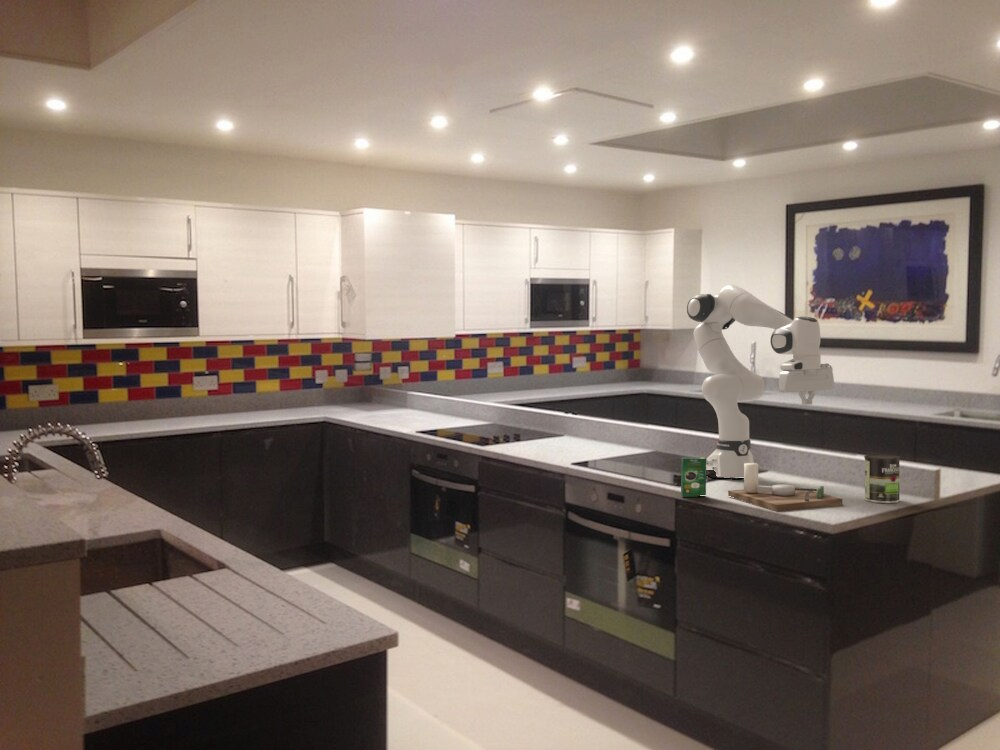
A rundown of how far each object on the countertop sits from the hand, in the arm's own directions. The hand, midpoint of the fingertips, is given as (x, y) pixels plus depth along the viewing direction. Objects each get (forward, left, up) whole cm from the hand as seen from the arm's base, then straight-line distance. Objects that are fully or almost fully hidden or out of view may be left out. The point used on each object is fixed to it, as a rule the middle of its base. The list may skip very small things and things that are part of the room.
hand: (807, 404), depth 292 cm
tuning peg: (+13, -21, -27) cm, 36 cm away
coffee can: (+26, +8, -29) cm, 40 cm away
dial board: (+14, -20, -29) cm, 38 cm away
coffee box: (-4, -42, -29) cm, 51 cm away
